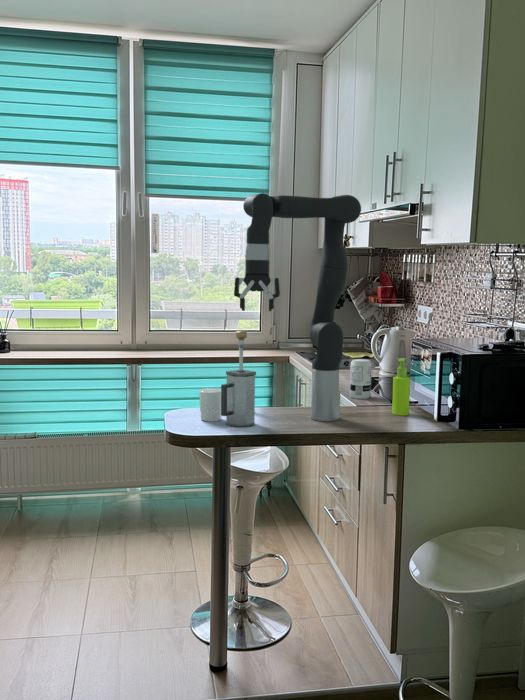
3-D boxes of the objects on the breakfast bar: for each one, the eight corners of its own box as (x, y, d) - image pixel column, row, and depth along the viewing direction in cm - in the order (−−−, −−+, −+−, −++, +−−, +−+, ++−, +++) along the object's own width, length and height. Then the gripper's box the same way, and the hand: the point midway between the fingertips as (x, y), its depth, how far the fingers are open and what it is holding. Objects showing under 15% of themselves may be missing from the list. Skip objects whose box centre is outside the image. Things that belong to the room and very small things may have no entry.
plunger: (241, 391, 220) (241, 330, 217) (248, 392, 217) (249, 331, 215) (232, 392, 217) (233, 331, 215) (240, 394, 215) (240, 332, 212)
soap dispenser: (389, 415, 235) (392, 358, 232) (393, 411, 241) (395, 356, 239) (406, 416, 233) (408, 360, 230) (410, 412, 239) (412, 357, 237)
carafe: (243, 419, 226) (244, 368, 224) (262, 424, 219) (263, 371, 217) (213, 425, 217) (213, 372, 214) (232, 430, 210) (232, 375, 208)
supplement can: (347, 395, 270) (348, 358, 268) (367, 395, 271) (368, 358, 269) (352, 399, 262) (353, 361, 260) (372, 399, 263) (374, 361, 261)
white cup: (219, 422, 221) (219, 392, 219) (196, 421, 222) (196, 391, 221) (225, 417, 228) (225, 388, 227) (203, 416, 230) (203, 387, 229)
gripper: (281, 259, 212) (280, 310, 214) (236, 258, 213) (236, 309, 215) (279, 259, 205) (278, 312, 207) (233, 258, 206) (232, 311, 208)
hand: (256, 310), depth 211 cm, fingers open, 8 cm apart
